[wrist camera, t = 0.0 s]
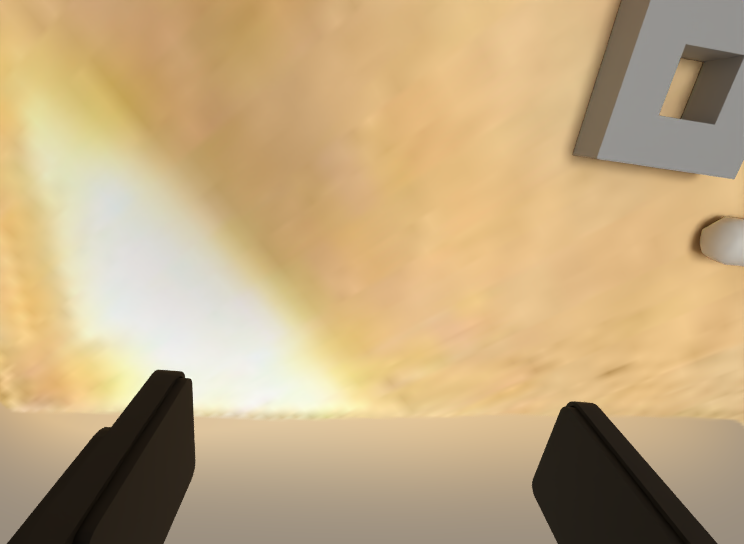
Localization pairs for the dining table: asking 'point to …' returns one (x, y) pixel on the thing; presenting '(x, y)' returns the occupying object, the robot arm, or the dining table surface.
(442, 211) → the dining table surface
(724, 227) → the tube
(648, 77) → the socket block
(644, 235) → the dining table surface
